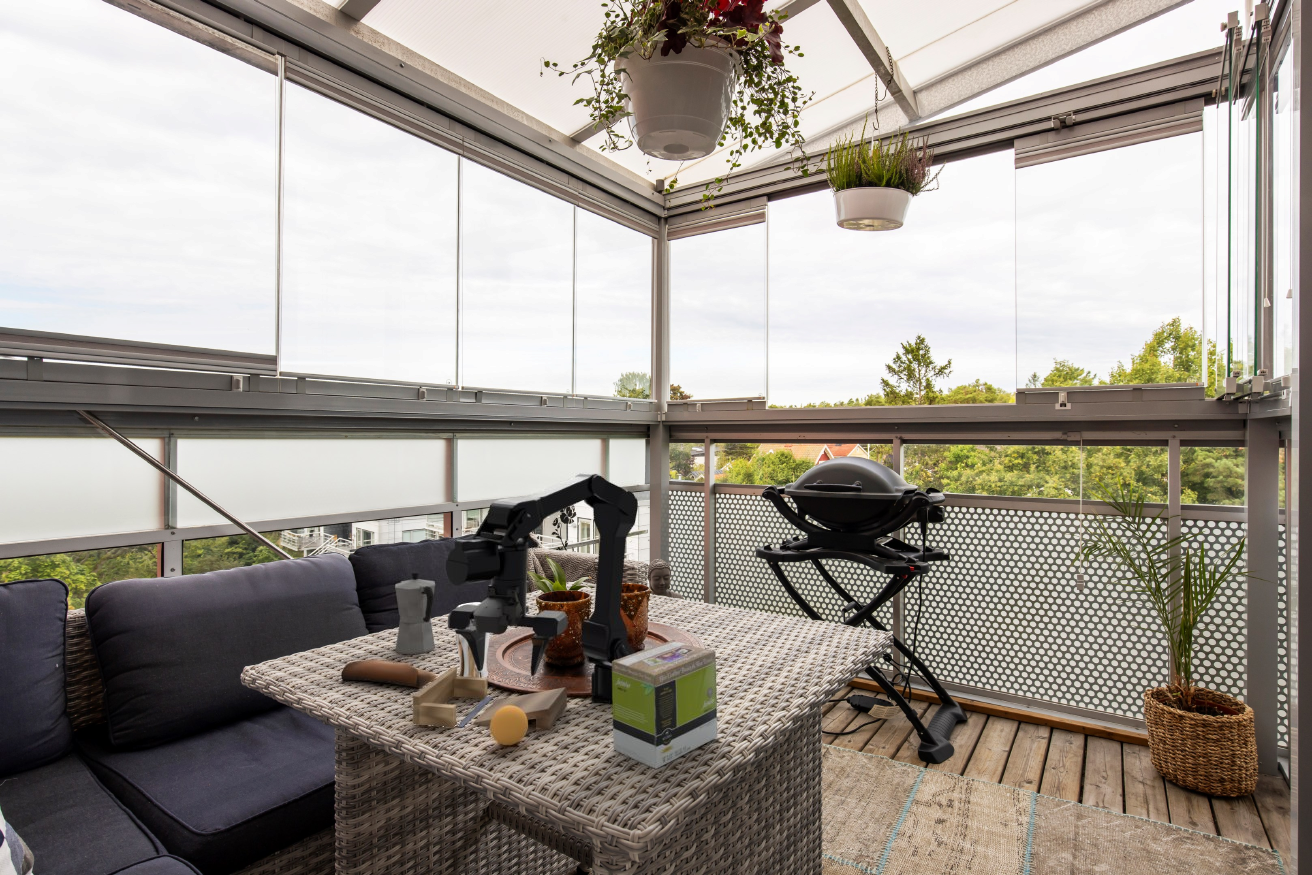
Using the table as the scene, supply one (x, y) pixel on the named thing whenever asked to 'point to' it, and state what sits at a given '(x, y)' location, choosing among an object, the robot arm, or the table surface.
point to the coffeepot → (415, 615)
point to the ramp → (532, 707)
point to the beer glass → (470, 655)
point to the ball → (509, 725)
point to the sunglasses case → (387, 673)
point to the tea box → (664, 702)
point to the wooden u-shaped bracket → (447, 699)
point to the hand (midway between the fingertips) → (506, 672)
